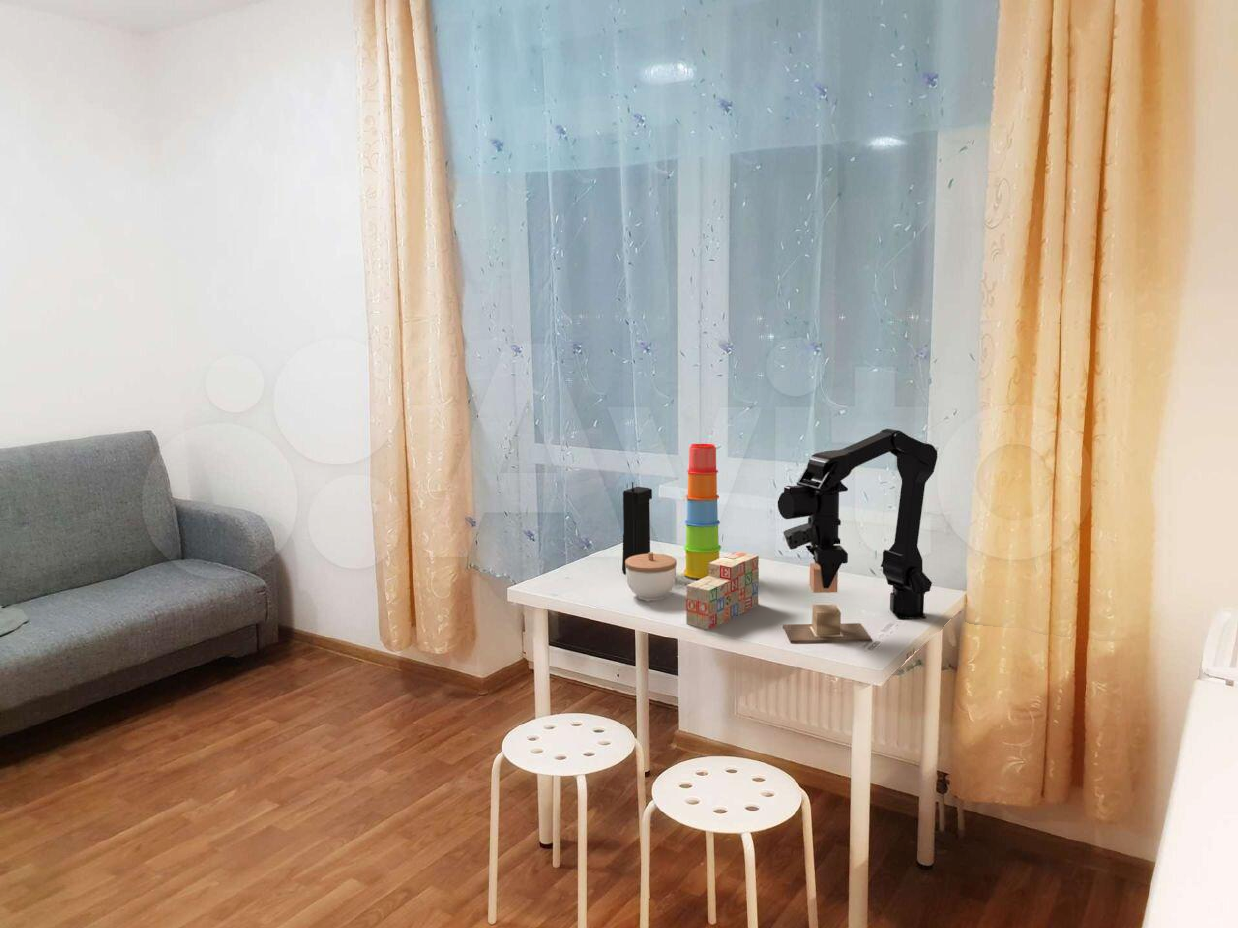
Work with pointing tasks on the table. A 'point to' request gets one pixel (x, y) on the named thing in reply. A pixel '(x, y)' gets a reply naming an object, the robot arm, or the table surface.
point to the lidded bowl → (651, 575)
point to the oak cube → (826, 619)
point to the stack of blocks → (723, 590)
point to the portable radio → (636, 522)
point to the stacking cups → (701, 511)
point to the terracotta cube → (817, 580)
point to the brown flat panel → (808, 635)
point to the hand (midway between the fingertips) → (823, 584)
